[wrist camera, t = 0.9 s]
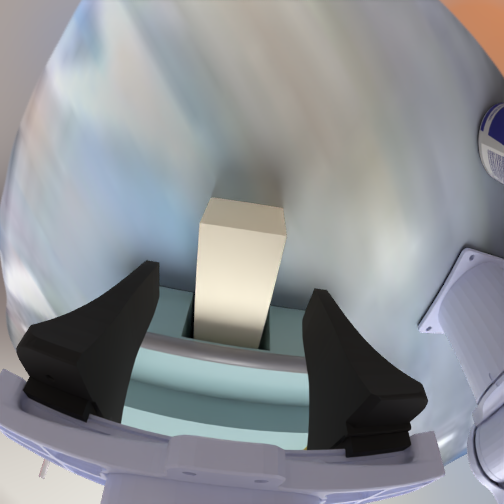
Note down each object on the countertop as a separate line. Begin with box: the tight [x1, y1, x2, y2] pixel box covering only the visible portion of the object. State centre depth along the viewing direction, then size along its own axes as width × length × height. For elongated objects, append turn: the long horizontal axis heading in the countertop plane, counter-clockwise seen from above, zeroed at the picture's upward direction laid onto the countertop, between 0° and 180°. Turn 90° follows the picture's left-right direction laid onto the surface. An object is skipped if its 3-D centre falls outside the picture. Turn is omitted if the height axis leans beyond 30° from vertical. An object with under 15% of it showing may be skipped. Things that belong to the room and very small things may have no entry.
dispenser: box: [121, 286, 309, 450], centre depth 19 cm, size 14×10×7 cm
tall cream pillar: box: [194, 197, 287, 349], centre depth 18 cm, size 4×12×4 cm, turn 171°
